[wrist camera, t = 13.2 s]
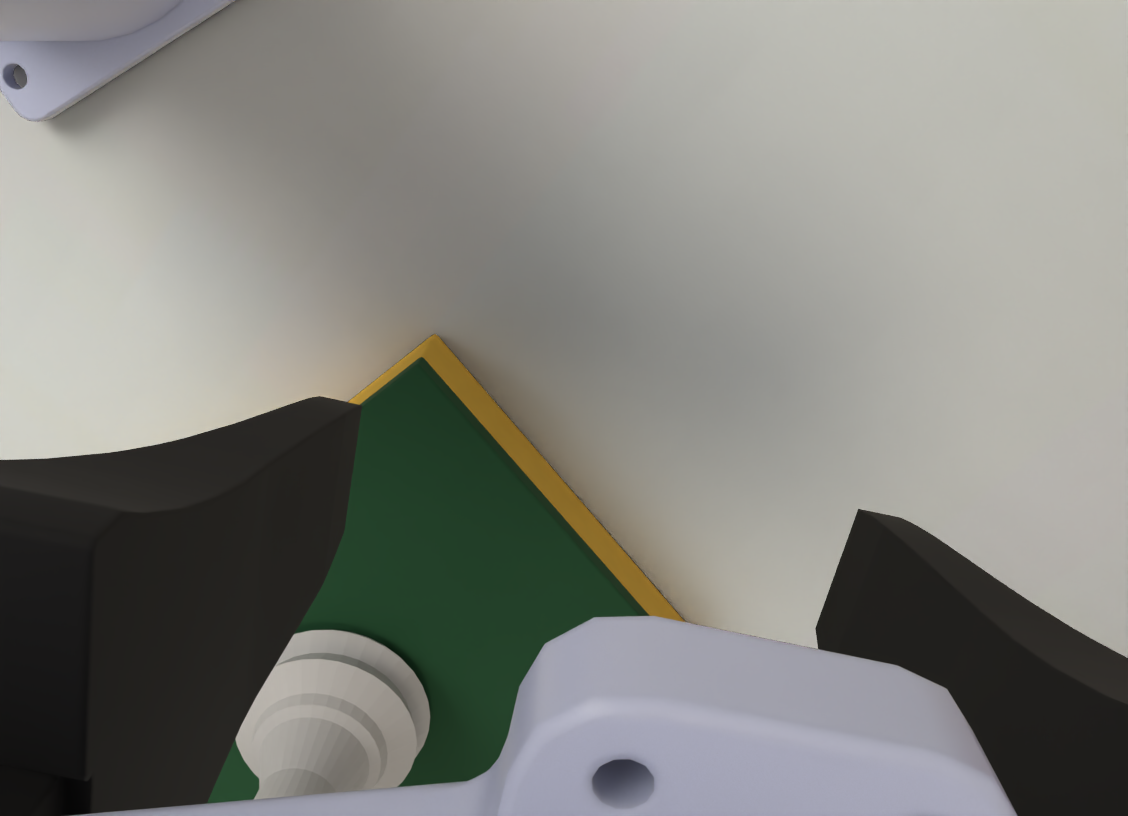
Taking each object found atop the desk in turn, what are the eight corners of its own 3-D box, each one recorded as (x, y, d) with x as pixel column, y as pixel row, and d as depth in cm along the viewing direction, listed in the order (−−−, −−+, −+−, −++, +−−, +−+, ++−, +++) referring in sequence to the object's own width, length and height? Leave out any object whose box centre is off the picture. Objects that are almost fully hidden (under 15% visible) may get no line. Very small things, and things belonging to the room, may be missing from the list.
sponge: (34, 649, 27) (-19, 704, 25) (435, 332, 23) (417, 363, 21) (306, 890, 30) (281, 959, 27) (704, 643, 26) (713, 699, 24)
